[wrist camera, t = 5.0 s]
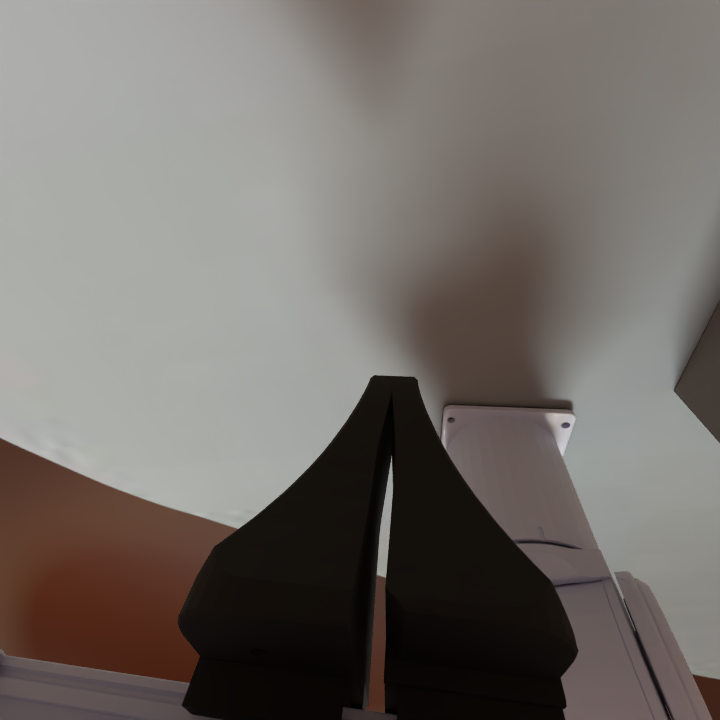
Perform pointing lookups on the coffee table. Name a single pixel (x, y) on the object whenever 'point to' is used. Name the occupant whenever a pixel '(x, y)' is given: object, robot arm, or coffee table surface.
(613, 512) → the coffee table surface
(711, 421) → the key panel
